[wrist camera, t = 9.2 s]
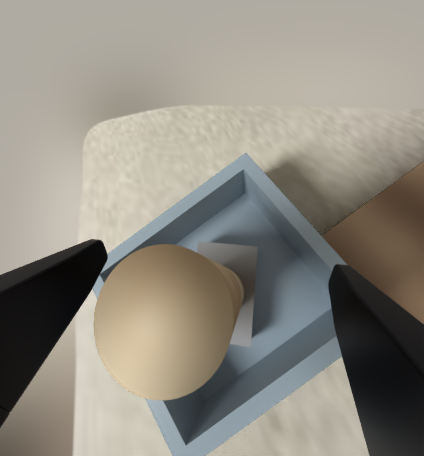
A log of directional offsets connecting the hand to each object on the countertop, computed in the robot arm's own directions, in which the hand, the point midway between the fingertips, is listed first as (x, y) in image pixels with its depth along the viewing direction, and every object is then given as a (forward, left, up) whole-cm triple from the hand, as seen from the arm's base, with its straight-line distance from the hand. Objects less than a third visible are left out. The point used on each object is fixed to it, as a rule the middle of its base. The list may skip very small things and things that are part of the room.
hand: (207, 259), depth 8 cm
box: (-1, -1, -9) cm, 9 cm away
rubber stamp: (-1, -1, -8) cm, 8 cm away
